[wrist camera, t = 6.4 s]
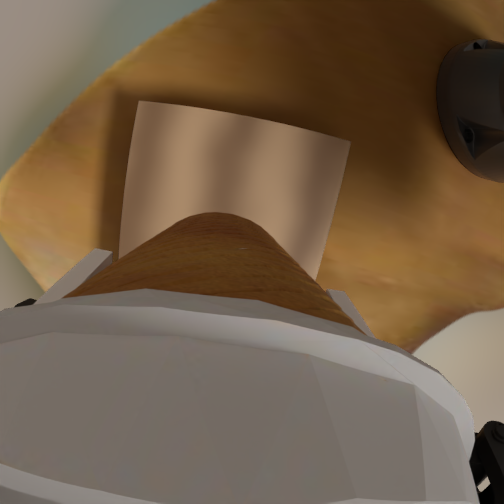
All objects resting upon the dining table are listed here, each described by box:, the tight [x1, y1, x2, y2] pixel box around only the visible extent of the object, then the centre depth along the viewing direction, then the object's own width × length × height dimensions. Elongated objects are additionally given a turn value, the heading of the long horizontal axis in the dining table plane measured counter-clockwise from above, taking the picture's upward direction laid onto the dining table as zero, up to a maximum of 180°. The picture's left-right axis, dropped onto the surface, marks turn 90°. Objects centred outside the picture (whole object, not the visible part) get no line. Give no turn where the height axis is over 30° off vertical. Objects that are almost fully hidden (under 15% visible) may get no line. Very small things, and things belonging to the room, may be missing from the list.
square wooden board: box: [118, 101, 351, 280], centre depth 26 cm, size 16×16×3 cm
